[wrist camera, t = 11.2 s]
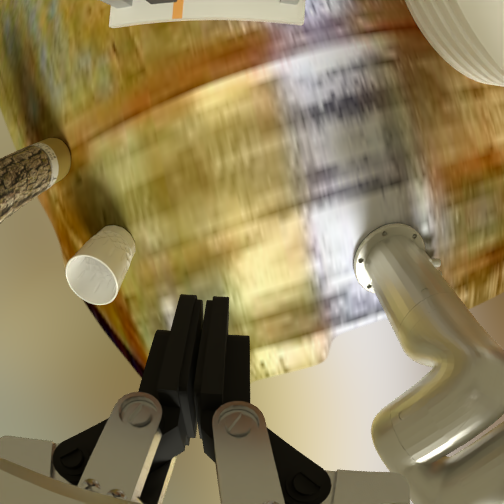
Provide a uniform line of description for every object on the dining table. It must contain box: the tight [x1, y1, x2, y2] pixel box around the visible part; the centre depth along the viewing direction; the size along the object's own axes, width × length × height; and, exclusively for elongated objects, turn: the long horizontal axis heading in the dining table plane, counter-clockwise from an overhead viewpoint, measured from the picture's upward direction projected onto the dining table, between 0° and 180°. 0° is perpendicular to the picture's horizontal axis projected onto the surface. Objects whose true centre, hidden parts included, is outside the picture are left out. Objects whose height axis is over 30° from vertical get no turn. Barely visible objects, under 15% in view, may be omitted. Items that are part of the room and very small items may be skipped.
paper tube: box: [0, 138, 71, 223], centre depth 27 cm, size 7×7×25 cm
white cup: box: [66, 225, 135, 305], centre depth 41 cm, size 8×8×10 cm
